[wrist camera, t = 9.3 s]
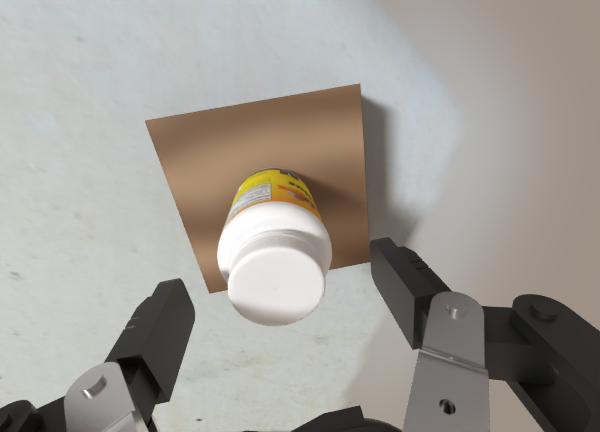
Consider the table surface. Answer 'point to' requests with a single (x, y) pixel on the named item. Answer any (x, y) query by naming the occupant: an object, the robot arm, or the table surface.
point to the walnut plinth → (268, 166)
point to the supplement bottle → (274, 249)
